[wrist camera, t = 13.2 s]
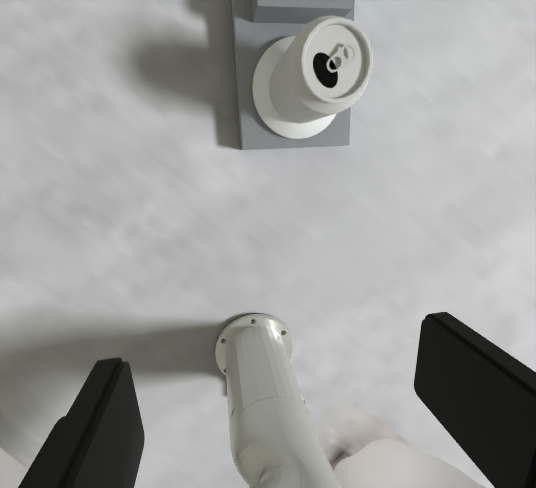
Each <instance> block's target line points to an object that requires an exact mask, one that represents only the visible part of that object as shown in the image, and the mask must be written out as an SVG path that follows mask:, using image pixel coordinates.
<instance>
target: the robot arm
mask: <svg viewBox="0 0 536 488" xmlns="http://www.w3.org/2000/svg"><path fill="white" fill-rule="evenodd" d="M252 319H253V320H252ZM292 349H293V343H292V338H291V335H290V333H289V331H288V329H287V328H286V326H285V325H284V324H283V323H282V322H281V321H279V320H278V319H276V318H274V317H272V316H269V315H265V314H250V315H246V316H242V317H240V318H238V319H236V320H234V321H233V322H231V323H230V324H228V325H227V326H226V327H225V328H224V329H223V331H222V332H221V334H220V335H219V337H218V339H217V342H216V347H215V357H216V362H217V365H218V367H219V368H220V370H221V372H222V373H223V374H224V375H225V376H226V378H227V396H228V414H229V431H230V447H231V453H232V457H233V461H234V463H235V466H236V468H237V470H238V472H239V473H240V475H241V476H242V478H243V479H244V481H245V482H246V483H247V484H248V485H249V487H250V488H343V487H342V486H341V484H340V482H339V480H338V479H337V477H336V475H335V473H334V471H333V469H332V467H331V465H330V463H329V461H328V459H327V457H326V455H325V453H324V450H323V448H322V446H321V443H320V441H319V438H318V436H317V433H316V431H315V428H314V425H313V423H312V420H311V417H310V415H309V412H308V409H307V406H306V404H305V401H304V398H303V396H302V393H301V390H300V387H299V385H298V382H297V379H296V376H295V374H294V371H293V368H292V366H291V363H290V358H291V354H292ZM414 389H415V392H416V394H417V395H418V397H419V398H420V399H421V400H422V402H423V403H424V404H425V405H426V406H427V407H428V409H429V410H430V411H431V412H432V413H433V415H434V416H435V417H436V418H437V419H438V421H439V422H440V423H441V424H442V425H443V426H444V428H445V429H446V430H447V431H448V432H449V434H450V435H451V436H452V437H453V438H454V440H455V441H456V442H457V443H458V444H459V445H460V447H461V448H462V449H463V450H464V451H465V453H466V454H467V455H468V456H469V457H470V459H471V460H472V461H473V462H474V463H475V464H476V466H477V467H478V468H479V469H480V470H481V472H482V473H483V474H484V475H485V476H486V478H487V479H488V480H489V481H490V482H491V483H492V485H493V486H494V487H495V488H536V372H534V371H533V370H531V369H530V368H528V367H527V366H526V365H524V364H523V363H521V362H520V361H518V360H517V359H515V358H514V357H512V356H511V355H509V354H508V353H506V352H505V351H503V350H502V349H500V348H499V347H498V346H496V345H495V344H493V343H492V342H490V341H489V340H487V339H486V338H484V337H483V336H481V335H480V334H478V333H477V332H475V331H474V330H473V329H471V328H470V327H468V326H467V325H465V324H464V323H462V322H461V321H459V320H458V319H456V318H455V317H453V316H452V315H450V314H449V313H447V312H440V313H433V314H428V315H427V316H426V317H425V319H424V320H423V321H422V324H421V332H420V340H419V348H418V356H417V364H416V372H415V379H414ZM143 447H144V430H143V425H142V420H141V416H140V411H139V407H138V402H137V397H136V393H135V388H134V383H133V379H132V374H131V369H130V365H129V363H128V362H123V361H122V359H121V358H111V359H104V360H99V361H97V362H96V364H95V366H94V367H93V369H92V371H91V373H90V374H89V376H88V378H87V380H86V382H85V383H84V385H83V387H82V389H81V390H80V392H79V394H78V396H77V397H76V399H75V401H74V403H73V405H72V406H71V408H70V410H69V412H68V413H67V415H66V416H64V417H62V418H61V419H59V420H58V422H57V423H56V424H55V426H54V427H53V429H52V431H51V432H50V434H49V436H48V438H47V439H46V441H45V443H44V444H43V446H42V448H41V449H40V451H39V453H38V455H37V456H36V458H35V460H34V461H33V463H32V465H31V467H30V468H29V470H28V472H27V473H26V475H25V477H24V479H23V480H22V482H21V484H20V485H19V487H18V488H134V485H135V481H136V477H137V472H138V468H139V464H140V460H141V456H142V451H143Z"/></svg>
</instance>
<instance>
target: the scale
mask: <svg viewBox="0 0 536 488" xmlns="http://www.w3.org/2000/svg"><path fill="white" fill-rule="evenodd" d="M231 7H232V22H233V37H234V52H235V67H236V83H237V98H238V113H239V128H240V143H241V150H253V149H276V148H299V147H322V146H344V145H349V135H350V107H349V108H347V109H345V110H343V111H341V112H339V113H336V114H333V115H330V116H327V117H324V118H321V119H318V120H315V121H312V122H308V123H302V124H298V123H293V122H289V121H288V120H286V119H284V118H283V117H281V116H280V115H279V113H278V112H277V111H276V110H275V109H274V106H273V104H272V102H271V99H270V94H269V82H270V76H271V74H272V72H273V70H274V68H275V66H276V64H277V63H278V61H279V60H280V58H281V57H282V56H283V54H284V53H285V51H286V50H287V48H288V47H289V46H290V44H291V43H292V41H293V40H294V38H295V37H296V36H297V34H298V33H299V32H300V31H301V30H302V29H303V28H304V27H305V26H306V25H307V23H309V22H311V21H313V20H315V19H317V18H319V17H322V16H332V15H335V16H338V17H343V18H346V19H350V20H352V21H354V0H231Z"/></svg>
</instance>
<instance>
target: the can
mask: <svg viewBox="0 0 536 488" xmlns="http://www.w3.org/2000/svg"><path fill="white" fill-rule="evenodd" d="M372 65H373V57H372V48H371V45H370V42H369V38H368V37H367V35H366V34H365V32H364V31H363V29H362V28H361V27H360V26H359V25H357V24H356V23H355V22H354V21H352V20H350V19H346V18H343V17H338V16H335V15H332V16H322V17H319V18H317V19H315V20H313V21H311V22H309V23H307V25H306V26H305V27H304V28H303V29H302V30H301V31H300V32H299V33H298V34H297V36H296V37H295V38H294V40H293V41H292V43H291V44H290V46H289V47H288V48H287V50H286V51H285V53H284V54H283V56H282V57H281V58H280V60H279V61H278V63H277V64H276V66H275V68H274V70H273V72H272V74H271V76H270V82H269V94H270V99H271V102H272V104H273V106H274V109H275V110H276V111H277V112H278V113H279V115H280V116H281V117H283V118H284V119H286V120H288V121H289V122H293V123H298V124H302V123H308V122H312V121H315V120H318V119H321V118H324V117H327V116H330V115H333V114H336V113H339V112H341V111H343V110H345V109H347V108H349V107H351V106H352V105H353V104H354V103H355V102H356V101H357V100H358V99H359V98H360V97H361V95H362V94H363V92H364V90H365V88H366V86H367V84H368V81H369V78H370V74H371V69H372Z"/></svg>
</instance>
